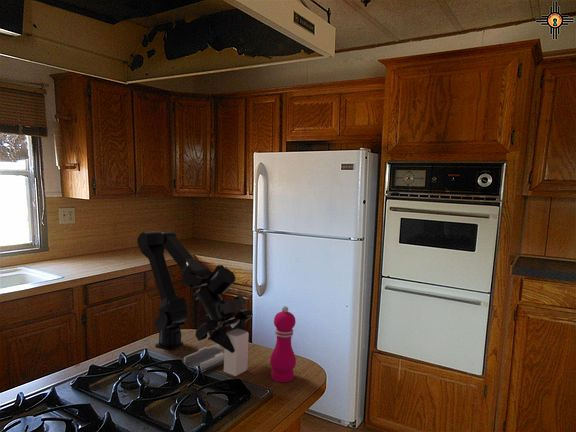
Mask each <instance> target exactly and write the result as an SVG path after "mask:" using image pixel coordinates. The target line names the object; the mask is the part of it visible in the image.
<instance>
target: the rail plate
mask: <svg viewBox="0 0 576 432" xmlns="http://www.w3.org/2000/svg"><path fill="white" fill-rule="evenodd" d="M183 363H184V364H185V365H188V366H192V367H194V366H197V365H198V366H200V368H201V370H202V371H204V370H208V371H210V370H212V369H214V368H216V367H219V366H221V365H224V349H222V348H221V345H219V344H217V343H215V344H213V345H210V346H204V347H201V348H199V349H198V350H197V351H195V352H193V353H190V354H188V355H186V356H183ZM183 363H182V364H183Z"/></svg>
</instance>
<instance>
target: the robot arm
mask: <svg viewBox="0 0 576 432" xmlns="http://www.w3.org/2000/svg"><path fill="white" fill-rule="evenodd" d="M136 243H137V246H138V248H139V250H140V253H141V254H142V255H143V256H145V258H147V259H148V263H149V265H150V268H151V271H152V274H153V277H154V280H155V281H154V282H155V285H156V288H157V291H158V294H159V297H160V303H159V307H158V312H159V315H158V316H157V317H156V318H155V320H154V321H153V324H154V325H153V326H154V329H155V330H158V343H156V344H155V345H154V346H155V347H157V348H161V349H165V350H168V351H171V350H174V349H176V348H178V347H180V346H182V345H184V342H183V341H182V331H181V330H182V329H181V326H185V324H186V321H187V320H188V319H187V317H188V316H189V310H188V309H189V307H188V305H187V302H186V299H185V297H183V296H182V297H180V296H179V295H178V294H177V292H176V289H175V286H174V282H173V280H172V279H173V278H172V277H171V274H170V270H169V267H168V265H167V261H166V257H165V255H164V254H165V250H166V252H167V253H168V254H169V255H170V257H171V258H172V259H173V260H174V262H175V263H176V264H177V265H178V267H179V269H180V271H181V278H182V279H183V281H184V283H185V285H186V286H187V287H188V288H190V289H191V288H192V289H195V288H199V287H200V288H199V289H196V290H195V291H194V294H193V296H192V297H193V298H192V300H194V301H196V300H199V301H200V303H201V304H202V306H203V308H204V310H205V312H204V313H203V314H204V317H207V316H209V318H210V319H209V320H207V321H204V322H202V324H200V326H198V327H197V329H196V330H195V337H196V339H197V340H198V342H200V341H203V340H206V339H207V340H208V341H212V342H214V343H215V344H219V345H220V347H222V348H223V349H224V348H225V349H227V350H228V351H230V352H231V353H233V352H234V351H235V350H234V347H233V345H232V343H231V341H230V339H229V338H228V336H227V334H226V332H227V328H226V327H228V326H230V327H231V329H230V330H229V331H231V330H234V329H236V328H238V329H241V330H244V331H246V330H245V329H246V328H245V325H246V323H247V321H249V320H250V319H251V318H252V317H253V316H254V315H253V313H252V312H253V311H251V310H250V309H249V308H245V306H246V299H245V298H244V297H243V295H241V294H240V295H237V296H234V298H233V300H231V301H229V299H226V298H224V299H223V297H222V295H224V293H225V292H226V291H228V289H230V287H231V286H232V285H233V284H234V283H235V282H236V276H235V273H234V272H233V271H231V270H230V269H229V268H226V267H224V264H219V265H217V266H216V267H215V269H214V270H213V271H211V270H210V268H209V267H208V266H206V265H205V264H204V263H203V262H201V261H199V260H196V259H195V258H194V257H193V256H192V255H191V254H190V252H189V251H188V250H187V248H186V247H185V246H184V245H183V244H182V242H181V241H180V239H178V237H177V234H176V233H175V232H173V231H142V232H140V234H139V235H138V236H137V240H136ZM237 311H238V312H237ZM233 315H234V316H233ZM208 335H209V337H208Z"/></svg>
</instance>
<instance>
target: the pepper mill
mask: <svg viewBox="0 0 576 432" xmlns="http://www.w3.org/2000/svg"><path fill="white" fill-rule="evenodd" d="M296 322H297V321H296V317H295V315H294V314H293V313H291V312H289V307H288V306H287V305H284V306H282V308H281V311H279V312H277V313H276V314H275V315H274V318H273V325H274V327H275V330H274V332H275V333H274V334H275V336H276V341H275V343H276V344H275V346H274V349H273V351H272V353H271V356H270V358H269V364H270V367H271V368H272V369H271V372H270V373H271V374H270V378H271V380H272V381H275V382H278V383H288V382H291V381H293V380H294V376H295V375H294V374H295V371H294V369H295V368H296V365H297V359H296V355H295V352H294V350H293V347H292V337H293V335H294V329H293V328H295V325H296Z"/></svg>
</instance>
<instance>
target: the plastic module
mask: <svg viewBox="0 0 576 432" xmlns="http://www.w3.org/2000/svg"><path fill="white" fill-rule="evenodd" d="M230 330H231V329H230ZM230 330H228V331H226V334H227V336H228V338H229V339H230V341H231V343H232V345H233V347H234V350H235V351H234V352H233V353H231V352H230V351H228V350H227V349H225V348H224V347H223V350H224V363H223V372H224V373H227V374H229V375H232V376H234V377H236V376H239V375H240V374H243V373H244V372H246V371H248V363H249V361H248V360H249V359H248V357H249V332H248V330H245V331H244V330H241V329H238V328H236V329H234V330H231V331H230Z"/></svg>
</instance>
